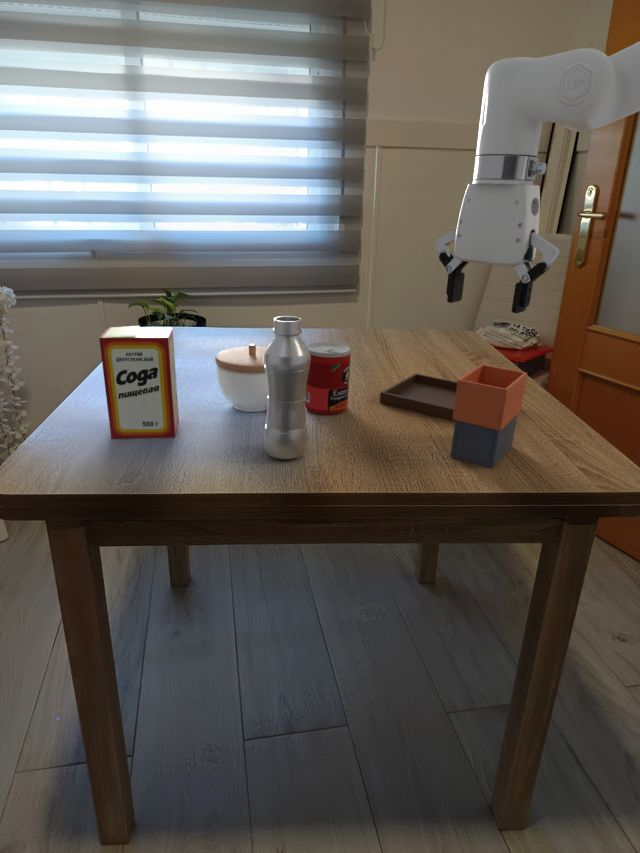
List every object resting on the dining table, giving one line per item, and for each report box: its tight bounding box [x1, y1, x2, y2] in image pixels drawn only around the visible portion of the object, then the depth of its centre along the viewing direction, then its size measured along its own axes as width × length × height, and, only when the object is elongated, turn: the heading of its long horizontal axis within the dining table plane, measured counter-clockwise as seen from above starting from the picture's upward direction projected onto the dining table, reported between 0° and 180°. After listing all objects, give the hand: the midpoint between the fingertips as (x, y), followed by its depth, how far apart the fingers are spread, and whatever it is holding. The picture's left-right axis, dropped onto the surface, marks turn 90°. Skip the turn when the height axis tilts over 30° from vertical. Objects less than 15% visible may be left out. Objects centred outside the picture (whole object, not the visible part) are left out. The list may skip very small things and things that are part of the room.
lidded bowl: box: [214, 343, 268, 413], centre depth 100 cm, size 13×13×11 cm
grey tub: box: [450, 414, 518, 469], centre depth 86 cm, size 6×9×6 cm
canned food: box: [305, 341, 352, 416], centre depth 100 cm, size 8×8×11 cm
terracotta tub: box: [453, 363, 528, 431], centre depth 84 cm, size 7×10×6 cm
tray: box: [379, 372, 458, 422], centre depth 106 cm, size 19×15×2 cm
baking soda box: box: [98, 325, 180, 440], centre depth 88 cm, size 10×6×16 cm
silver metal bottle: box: [262, 315, 311, 460], centre depth 80 cm, size 6×7×20 cm
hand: (485, 306), depth 80 cm, fingers open, 9 cm apart
